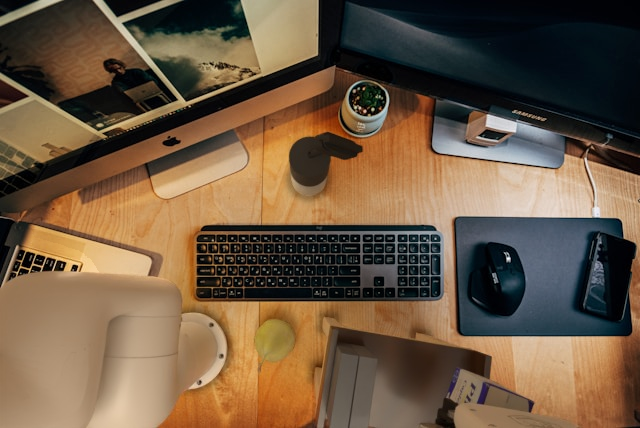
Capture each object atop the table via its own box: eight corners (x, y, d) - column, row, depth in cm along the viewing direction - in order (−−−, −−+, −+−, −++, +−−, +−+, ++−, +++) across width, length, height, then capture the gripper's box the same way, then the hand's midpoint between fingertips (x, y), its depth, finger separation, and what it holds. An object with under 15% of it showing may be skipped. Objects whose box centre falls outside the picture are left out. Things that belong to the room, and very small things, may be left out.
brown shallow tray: (315, 415, 54) (316, 428, 49) (330, 325, 56) (332, 328, 51) (467, 441, 54) (482, 456, 49) (476, 350, 56) (492, 356, 51)
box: (454, 364, 46) (488, 381, 38) (494, 381, 46) (537, 402, 37) (428, 438, 45) (458, 473, 36) (469, 456, 45) (508, 495, 36)
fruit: (301, 327, 77) (301, 334, 65) (283, 368, 76) (279, 383, 64) (267, 311, 77) (260, 315, 65) (248, 352, 76) (238, 363, 64)
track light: (309, 199, 84) (397, 180, 71) (237, 185, 72) (327, 159, 59) (308, 166, 85) (395, 141, 72) (237, 147, 73) (326, 113, 60)
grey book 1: (324, 403, 53) (328, 429, 44) (334, 341, 55) (340, 352, 45) (339, 406, 53) (347, 432, 44) (349, 343, 55) (359, 355, 45)
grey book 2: (340, 406, 53) (348, 432, 44) (349, 343, 55) (359, 355, 45) (355, 409, 53) (366, 436, 44) (364, 346, 55) (377, 358, 45)
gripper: (757, 470, 25) (566, 394, 42) (456, 418, 24) (392, 364, 42) (757, 621, 23) (561, 477, 41) (440, 567, 23) (381, 446, 41)
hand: (476, 420), depth 42 cm, fingers closed on box, 5 cm apart
